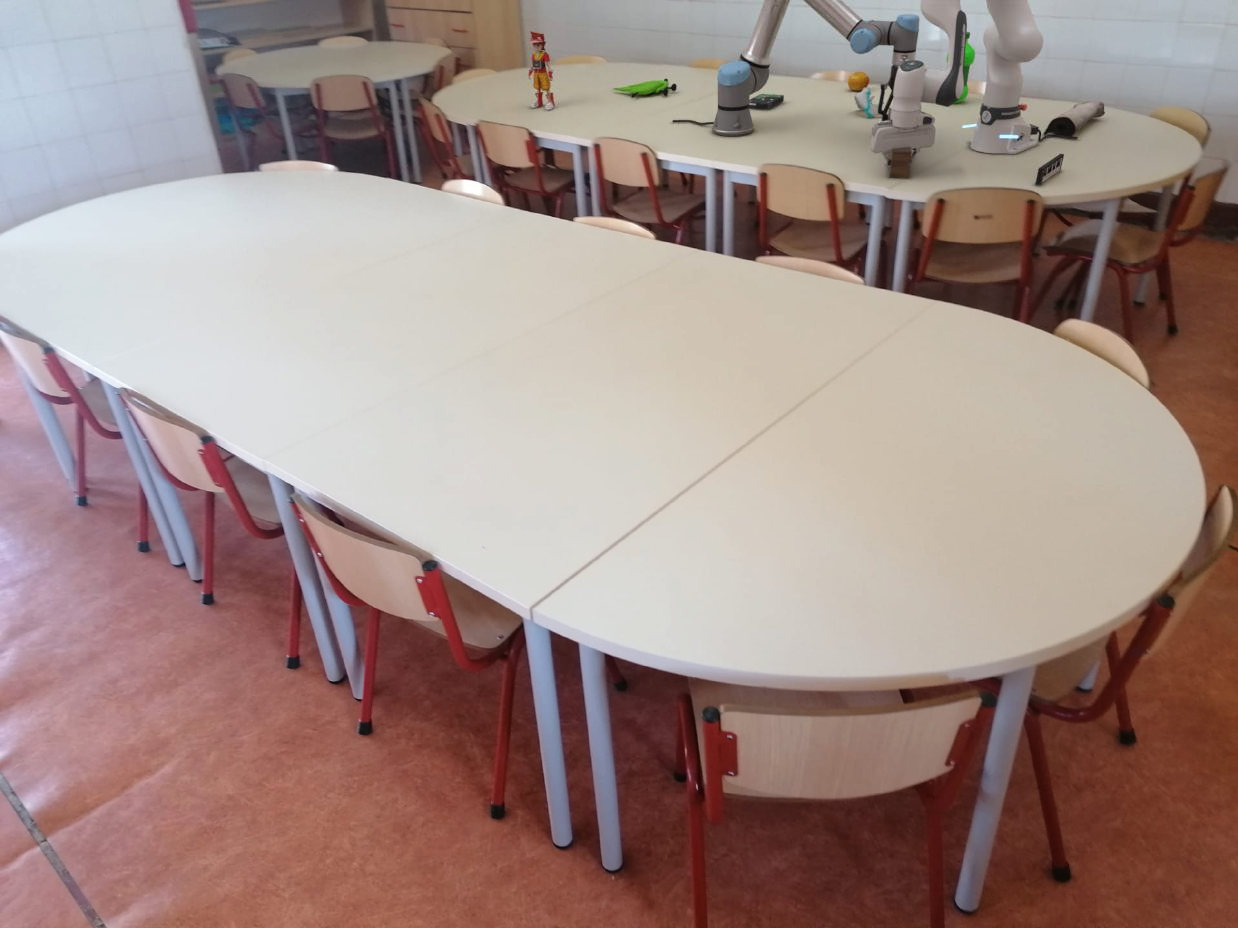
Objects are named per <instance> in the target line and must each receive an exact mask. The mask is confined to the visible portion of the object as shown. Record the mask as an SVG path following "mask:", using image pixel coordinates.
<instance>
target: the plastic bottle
mask: <svg viewBox="0 0 1238 928" xmlns="http://www.w3.org/2000/svg"><path fill="white" fill-rule="evenodd" d="M970 36H971V32H970V31H967V34H966V48H965V60H964V90H963V94H962V96H961V98H960V99H959V100H958V101H957V102H956V103H955V104H960V103H961V102H963V101H964V100H966V98H967V96H968V95H969V85H968V79H969V73H970V67H971V65H972V64H973V63H974V61H975V57H976V51H975V49H974V47H972V45H971V44H970V43H969V42H968V41H969V39H970V38H971V37H970ZM948 53H949V51H948V52H947V54H946V63H947V64H948Z"/></svg>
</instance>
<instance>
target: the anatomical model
mask: <svg viewBox="0 0 1238 928" xmlns="http://www.w3.org/2000/svg"><path fill="white" fill-rule="evenodd" d="M871 95H872V92H871V90H869V89H868V88H867V87H866V88H863V90H861V91H860V92H858V93H855V94H854V97H853V98H854V101H855V104H856V105H857V108H858V109H860V110H863V111H864V112H865V114H866V116H867V117H868V118H869V119H870V118H875V117H878V116H879V117H880V116H881V117H882V115H881V114H878V106H879V102H878V103H873V102H872V101H873V100H874V98H875V96H876V95H872V96H871ZM884 104H885V102H884V101H883V105H884Z"/></svg>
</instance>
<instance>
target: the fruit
mask: <svg viewBox="0 0 1238 928" xmlns="http://www.w3.org/2000/svg"><path fill="white" fill-rule="evenodd" d="M869 84H870V77H869V75H868V74H867V73H865V72H863V71H855V72H853V73H851V74H850V76H849V77H848V80H847V86H848V88H849V89H850V90H852V91H855V92H857V91H859V92H862V90H863V88H867V87H868V86H869Z"/></svg>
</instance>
